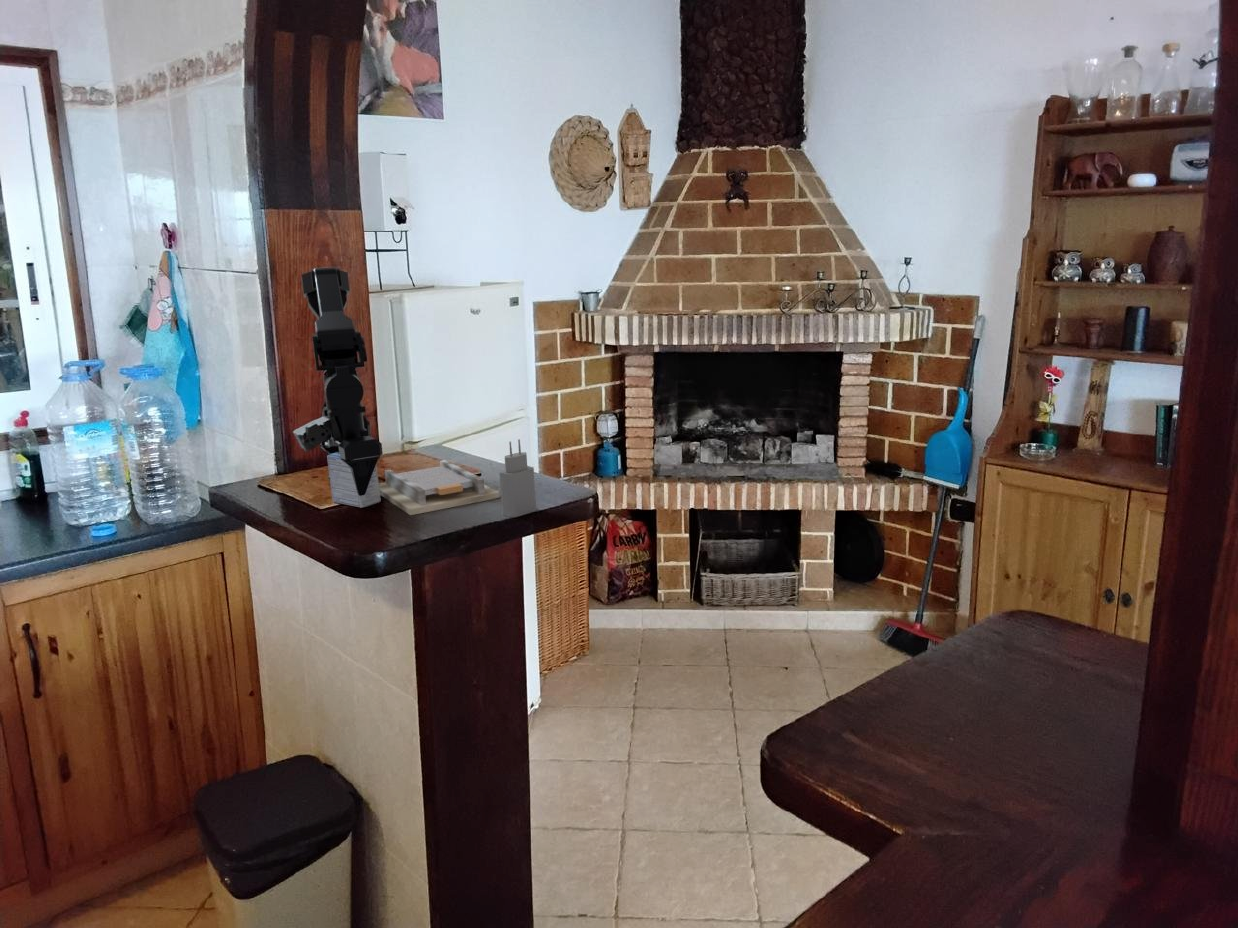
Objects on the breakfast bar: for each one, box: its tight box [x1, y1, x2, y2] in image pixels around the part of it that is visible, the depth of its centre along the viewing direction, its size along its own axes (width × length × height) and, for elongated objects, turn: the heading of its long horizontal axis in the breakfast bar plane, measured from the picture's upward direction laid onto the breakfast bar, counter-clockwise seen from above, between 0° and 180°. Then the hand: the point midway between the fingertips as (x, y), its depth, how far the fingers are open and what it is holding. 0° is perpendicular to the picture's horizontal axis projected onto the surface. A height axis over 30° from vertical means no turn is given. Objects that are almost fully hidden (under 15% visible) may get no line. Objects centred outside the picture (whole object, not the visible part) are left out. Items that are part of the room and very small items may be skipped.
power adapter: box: [499, 439, 537, 518], centre depth 149 cm, size 3×5×12 cm, turn 136°
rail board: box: [379, 459, 501, 516], centre depth 163 cm, size 20×16×4 cm
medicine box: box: [326, 452, 382, 509], centre depth 159 cm, size 8×4×9 cm, turn 54°
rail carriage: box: [397, 465, 473, 495], centre depth 162 cm, size 16×9×1 cm, turn 32°
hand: (353, 489), depth 160 cm, fingers open, 9 cm apart
